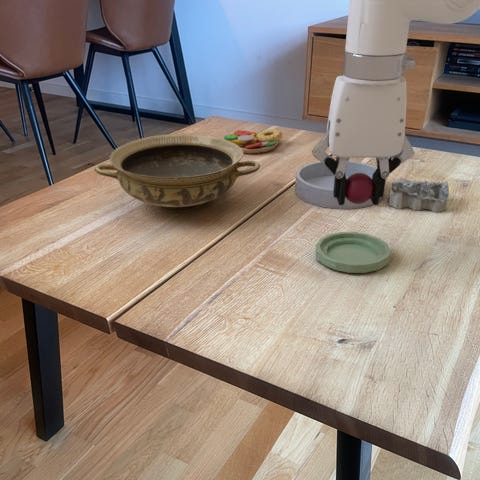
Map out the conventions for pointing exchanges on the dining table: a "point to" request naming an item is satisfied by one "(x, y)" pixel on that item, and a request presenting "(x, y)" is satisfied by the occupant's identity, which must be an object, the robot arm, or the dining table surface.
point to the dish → (328, 184)
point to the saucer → (353, 252)
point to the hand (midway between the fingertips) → (357, 200)
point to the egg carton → (419, 195)
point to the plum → (359, 188)
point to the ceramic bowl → (177, 169)
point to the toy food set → (255, 140)
